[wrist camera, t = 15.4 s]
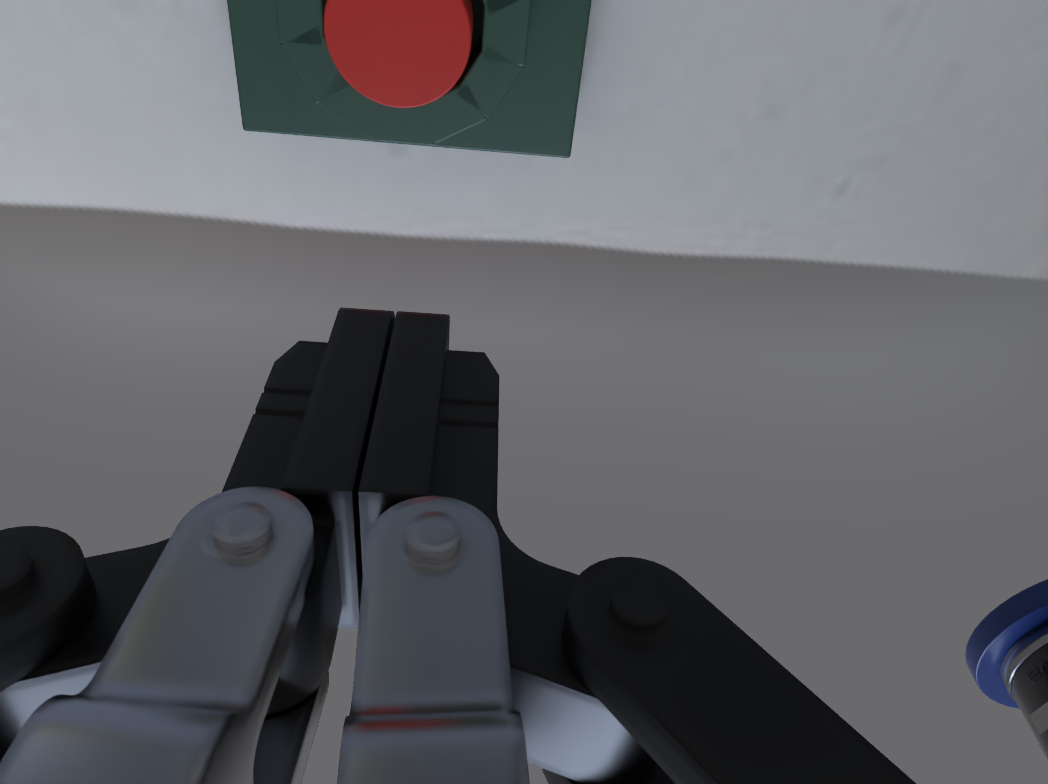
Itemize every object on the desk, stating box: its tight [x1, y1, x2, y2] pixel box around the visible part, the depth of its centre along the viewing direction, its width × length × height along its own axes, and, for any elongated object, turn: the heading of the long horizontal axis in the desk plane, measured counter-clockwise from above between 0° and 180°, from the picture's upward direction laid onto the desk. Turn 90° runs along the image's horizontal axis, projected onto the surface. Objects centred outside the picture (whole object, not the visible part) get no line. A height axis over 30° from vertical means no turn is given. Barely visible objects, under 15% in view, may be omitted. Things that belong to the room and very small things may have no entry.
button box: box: [227, 0, 591, 158], centre depth 22 cm, size 10×8×4 cm
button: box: [324, 0, 473, 108], centre depth 20 cm, size 4×4×2 cm
